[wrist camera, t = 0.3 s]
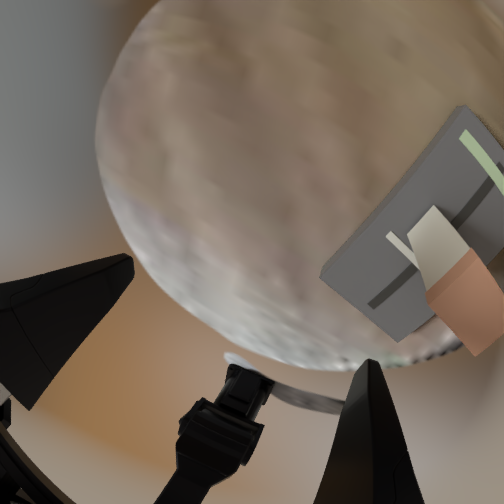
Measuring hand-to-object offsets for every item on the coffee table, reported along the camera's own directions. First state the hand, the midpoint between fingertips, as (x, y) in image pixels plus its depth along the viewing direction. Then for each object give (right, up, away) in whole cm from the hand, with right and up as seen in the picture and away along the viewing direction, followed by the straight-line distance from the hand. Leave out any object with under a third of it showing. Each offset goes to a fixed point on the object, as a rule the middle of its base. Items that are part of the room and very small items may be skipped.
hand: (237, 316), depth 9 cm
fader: (+14, +3, +8) cm, 16 cm away
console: (+15, +3, +10) cm, 18 cm away
